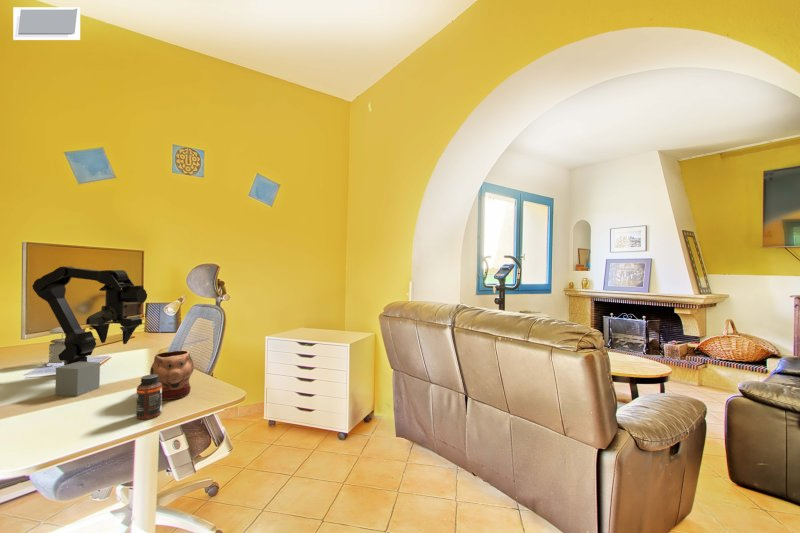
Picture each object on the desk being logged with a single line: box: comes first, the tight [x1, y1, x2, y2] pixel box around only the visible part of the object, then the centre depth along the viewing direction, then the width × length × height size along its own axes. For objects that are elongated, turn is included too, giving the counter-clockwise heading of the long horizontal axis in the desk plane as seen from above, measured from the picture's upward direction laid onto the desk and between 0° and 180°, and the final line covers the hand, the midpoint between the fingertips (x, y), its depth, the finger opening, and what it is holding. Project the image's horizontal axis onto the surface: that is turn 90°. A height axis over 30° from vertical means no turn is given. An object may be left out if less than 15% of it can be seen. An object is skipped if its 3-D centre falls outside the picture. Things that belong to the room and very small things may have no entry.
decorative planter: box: [149, 350, 195, 400], centre depth 119 cm, size 20×12×14 cm, turn 44°
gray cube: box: [54, 361, 101, 397], centre depth 119 cm, size 8×8×9 cm
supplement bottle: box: [135, 374, 163, 420], centre depth 102 cm, size 6×6×11 cm
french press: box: [46, 326, 65, 364], centre depth 150 cm, size 10×12×25 cm
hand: (114, 343), depth 136 cm, fingers open, 9 cm apart
